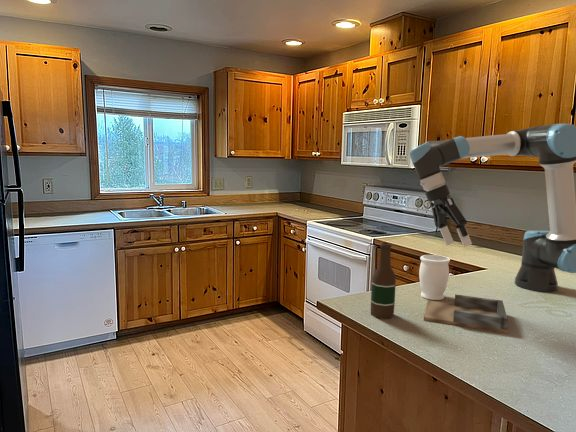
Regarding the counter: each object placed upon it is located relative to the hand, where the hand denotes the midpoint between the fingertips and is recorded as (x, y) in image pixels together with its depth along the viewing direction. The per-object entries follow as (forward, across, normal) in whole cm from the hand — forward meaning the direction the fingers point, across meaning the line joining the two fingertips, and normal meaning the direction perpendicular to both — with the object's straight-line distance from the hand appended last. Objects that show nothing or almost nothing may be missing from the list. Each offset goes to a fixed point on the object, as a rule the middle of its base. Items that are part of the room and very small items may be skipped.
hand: (458, 244), depth 145 cm
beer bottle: (+11, +4, -34) cm, 36 cm away
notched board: (+21, +6, -10) cm, 24 cm away
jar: (+17, -14, -11) cm, 25 cm away
